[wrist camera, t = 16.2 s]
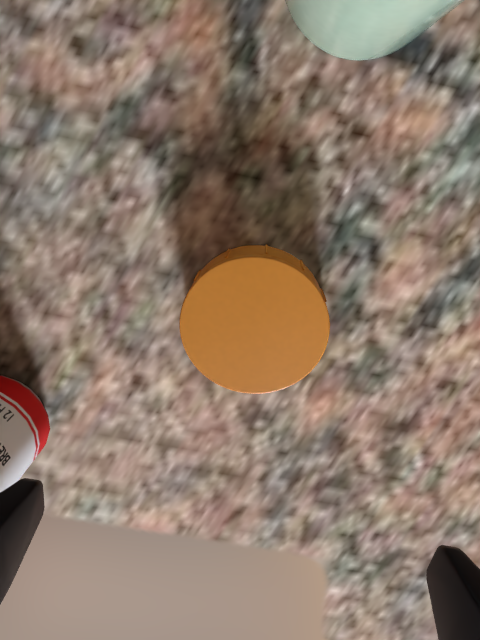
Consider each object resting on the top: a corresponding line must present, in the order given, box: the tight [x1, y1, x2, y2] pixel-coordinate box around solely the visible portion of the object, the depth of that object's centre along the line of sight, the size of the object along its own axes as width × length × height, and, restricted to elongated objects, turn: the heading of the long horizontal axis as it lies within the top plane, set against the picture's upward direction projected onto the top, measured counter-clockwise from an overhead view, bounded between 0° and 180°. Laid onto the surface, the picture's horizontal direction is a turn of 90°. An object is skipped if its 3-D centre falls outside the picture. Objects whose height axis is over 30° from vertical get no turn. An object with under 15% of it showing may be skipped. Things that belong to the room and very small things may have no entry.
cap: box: [180, 245, 330, 394], centre depth 20 cm, size 7×7×2 cm
